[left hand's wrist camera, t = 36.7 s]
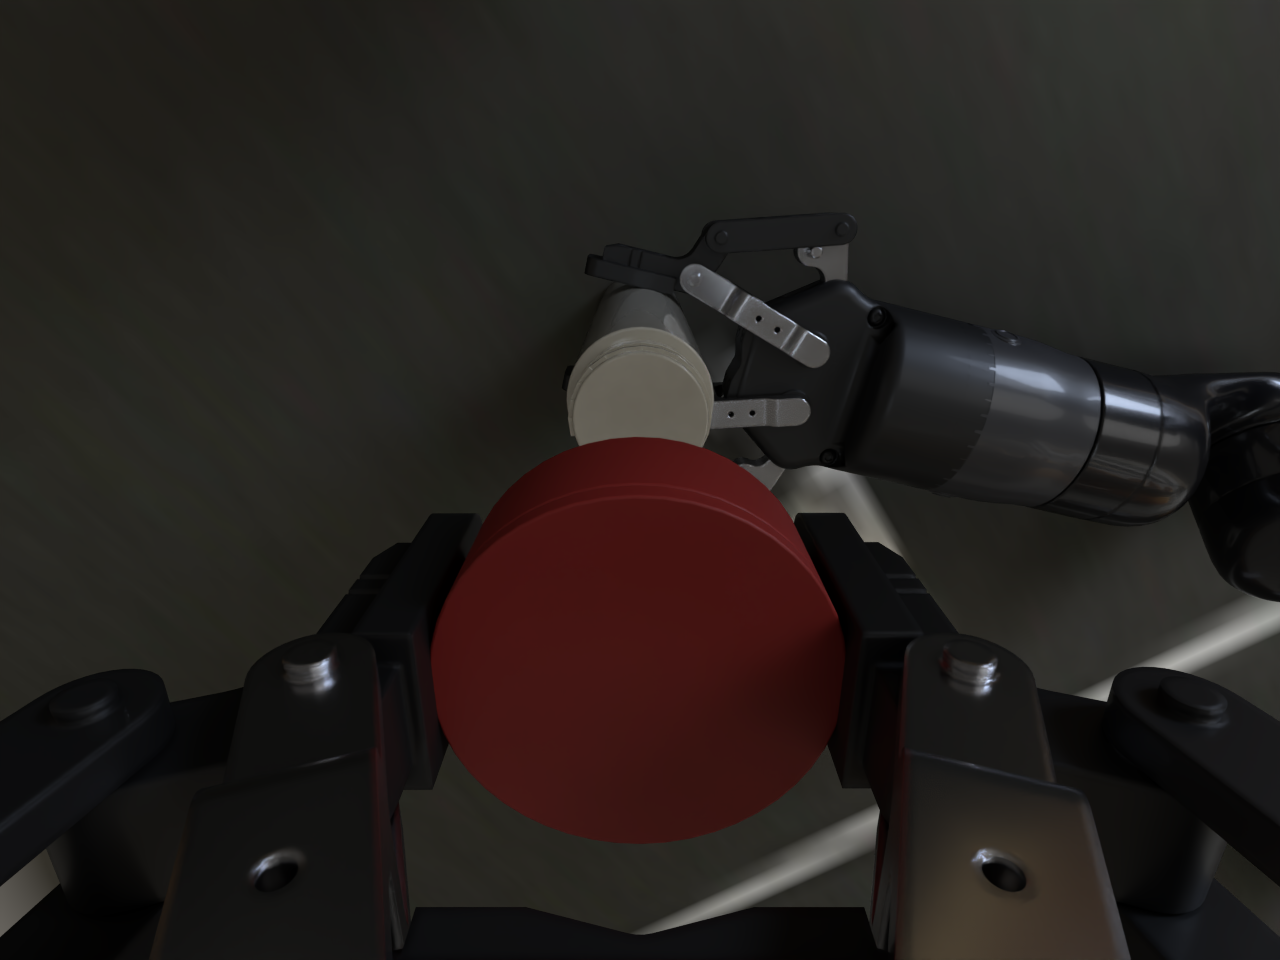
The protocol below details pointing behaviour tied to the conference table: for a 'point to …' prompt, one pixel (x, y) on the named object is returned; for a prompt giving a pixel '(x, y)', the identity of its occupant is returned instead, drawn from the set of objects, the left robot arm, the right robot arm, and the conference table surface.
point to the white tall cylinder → (639, 372)
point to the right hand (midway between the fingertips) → (577, 321)
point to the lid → (638, 645)
